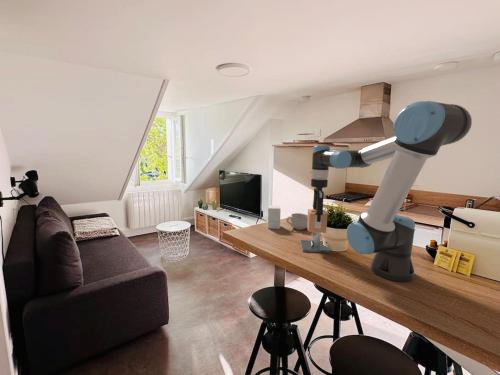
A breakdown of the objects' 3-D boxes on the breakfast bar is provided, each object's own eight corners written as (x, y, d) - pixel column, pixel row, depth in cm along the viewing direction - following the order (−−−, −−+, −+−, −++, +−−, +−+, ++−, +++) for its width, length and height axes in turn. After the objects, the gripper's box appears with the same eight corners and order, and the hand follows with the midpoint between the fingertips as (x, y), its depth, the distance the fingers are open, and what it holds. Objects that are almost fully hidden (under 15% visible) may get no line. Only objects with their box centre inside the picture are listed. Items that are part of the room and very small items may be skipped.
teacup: (305, 225, 160) (306, 213, 159) (310, 231, 150) (311, 218, 148) (283, 225, 160) (284, 213, 158) (287, 231, 149) (287, 217, 148)
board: (331, 253, 119) (332, 238, 118) (302, 251, 120) (303, 236, 119) (326, 243, 131) (327, 230, 129) (300, 242, 132) (301, 228, 131)
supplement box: (279, 225, 159) (280, 205, 157) (279, 229, 152) (280, 208, 150) (267, 224, 160) (268, 205, 158) (267, 228, 153) (268, 208, 151)
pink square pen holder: (323, 227, 127) (324, 209, 126) (326, 232, 120) (327, 213, 118) (306, 226, 128) (307, 208, 127) (308, 231, 120) (309, 212, 119)
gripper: (308, 175, 131) (306, 218, 134) (314, 181, 110) (311, 231, 114) (324, 176, 130) (321, 219, 133) (332, 181, 109) (328, 232, 113)
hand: (316, 225), depth 124 cm, fingers closed on pink square pen holder, 8 cm apart
